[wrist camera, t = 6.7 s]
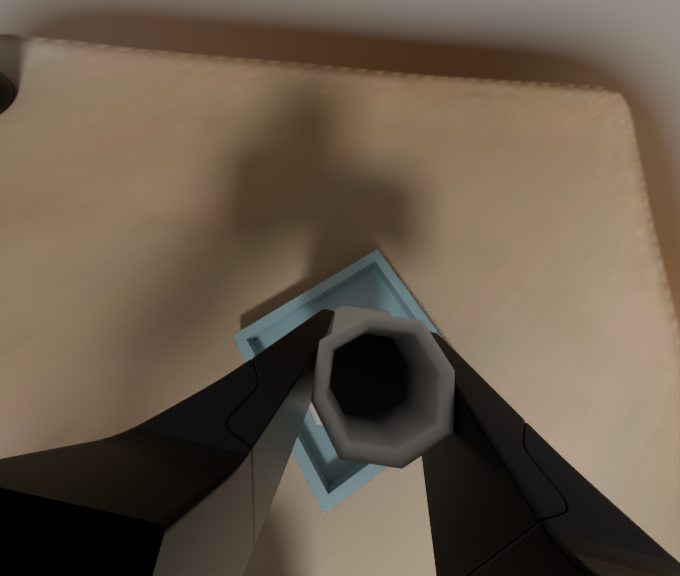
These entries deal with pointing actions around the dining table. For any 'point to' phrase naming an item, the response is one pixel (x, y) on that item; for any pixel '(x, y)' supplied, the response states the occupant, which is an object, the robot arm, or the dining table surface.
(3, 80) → the supplement bottle
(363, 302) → the tray
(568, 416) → the dining table surface
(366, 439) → the flask
